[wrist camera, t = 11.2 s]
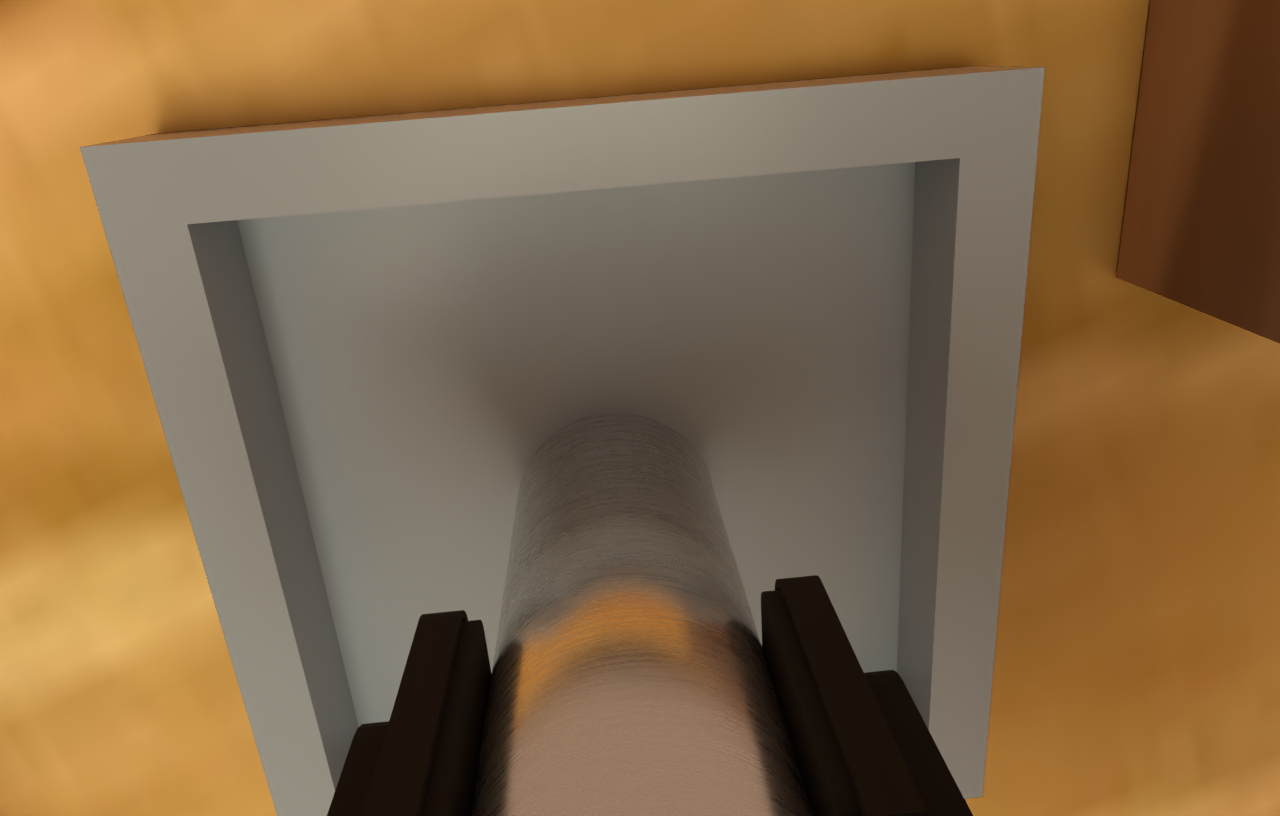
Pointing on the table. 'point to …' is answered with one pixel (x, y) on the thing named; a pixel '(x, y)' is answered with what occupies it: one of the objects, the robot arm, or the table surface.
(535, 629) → the pin
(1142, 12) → the table surface
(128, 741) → the table surface
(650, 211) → the tray
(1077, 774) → the table surface
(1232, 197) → the socket block
